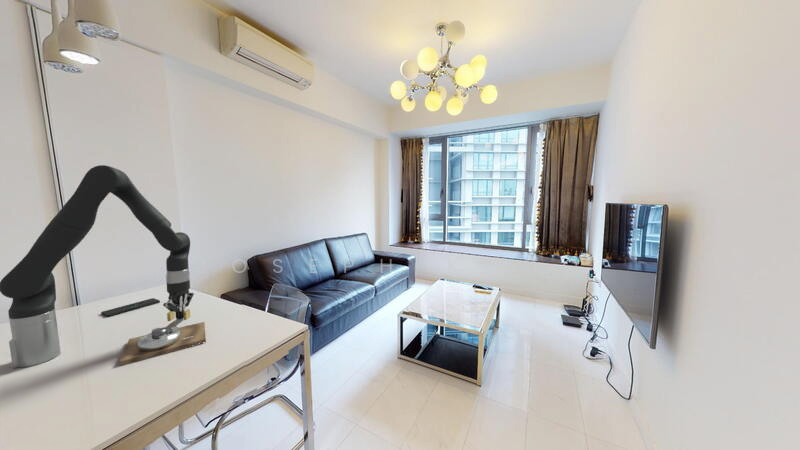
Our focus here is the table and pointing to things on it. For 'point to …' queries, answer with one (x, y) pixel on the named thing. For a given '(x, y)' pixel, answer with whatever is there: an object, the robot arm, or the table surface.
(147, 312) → the table surface
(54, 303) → the robot arm
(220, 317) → the table surface
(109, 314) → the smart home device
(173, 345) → the base plate
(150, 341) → the silver rotary lever
